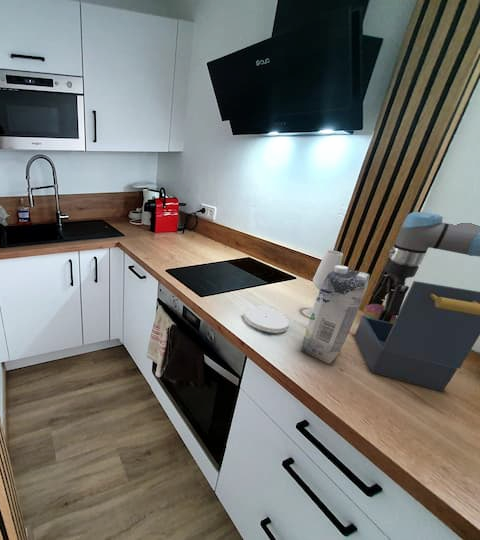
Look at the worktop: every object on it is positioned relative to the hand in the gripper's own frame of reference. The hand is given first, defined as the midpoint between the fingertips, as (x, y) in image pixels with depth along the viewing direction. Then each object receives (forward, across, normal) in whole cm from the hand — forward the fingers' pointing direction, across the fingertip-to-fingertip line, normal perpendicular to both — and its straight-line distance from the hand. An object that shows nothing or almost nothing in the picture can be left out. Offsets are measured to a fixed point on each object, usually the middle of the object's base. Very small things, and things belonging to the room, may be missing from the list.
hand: (375, 321), depth 99 cm
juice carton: (+1, +27, -20) cm, 34 cm away
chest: (+1, +21, -1) cm, 21 cm away
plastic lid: (+1, +18, -35) cm, 39 cm away
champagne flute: (+1, +3, -19) cm, 19 cm away
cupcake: (+1, 0, 0) cm, 1 cm away
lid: (-17, +30, -1) cm, 34 cm away
